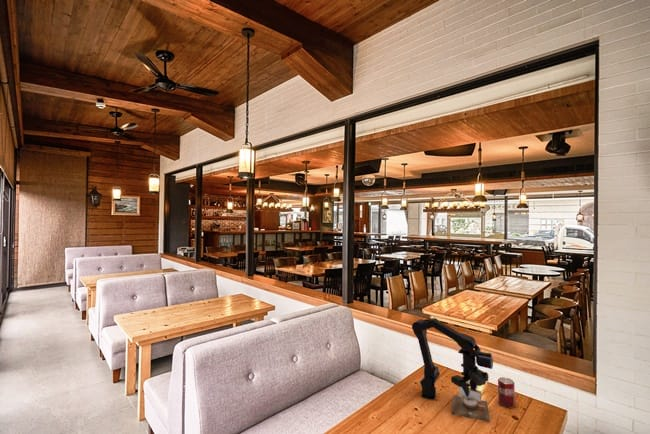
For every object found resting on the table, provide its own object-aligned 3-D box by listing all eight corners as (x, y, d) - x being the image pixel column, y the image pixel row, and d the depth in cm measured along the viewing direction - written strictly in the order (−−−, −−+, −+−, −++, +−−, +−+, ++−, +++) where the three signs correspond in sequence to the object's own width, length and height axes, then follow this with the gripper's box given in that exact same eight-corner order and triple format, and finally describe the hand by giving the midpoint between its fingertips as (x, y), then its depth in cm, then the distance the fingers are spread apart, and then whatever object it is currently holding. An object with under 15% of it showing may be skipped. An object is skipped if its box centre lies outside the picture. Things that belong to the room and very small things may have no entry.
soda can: (517, 409, 156) (516, 384, 156) (501, 407, 157) (500, 383, 157) (511, 401, 163) (511, 377, 163) (496, 399, 164) (495, 376, 165)
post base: (452, 414, 153) (452, 410, 153) (452, 397, 167) (452, 394, 167) (489, 421, 147) (489, 418, 147) (487, 404, 161) (487, 400, 161)
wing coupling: (457, 405, 157) (457, 389, 157) (461, 398, 163) (460, 383, 163) (483, 413, 150) (482, 396, 150) (485, 406, 156) (485, 389, 156)
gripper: (468, 374, 146) (469, 408, 146) (497, 366, 153) (498, 399, 153) (449, 364, 156) (450, 396, 156) (478, 357, 163) (478, 388, 163)
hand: (470, 395), depth 157 cm, fingers closed on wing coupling, 4 cm apart
